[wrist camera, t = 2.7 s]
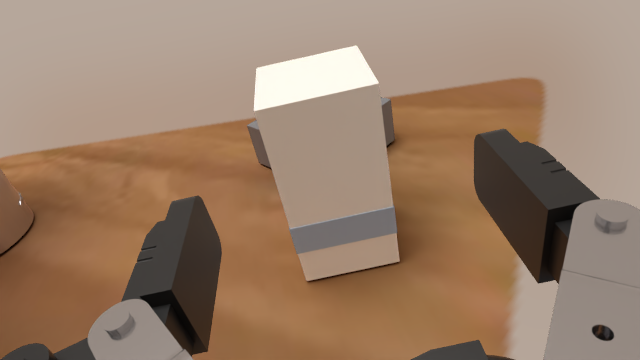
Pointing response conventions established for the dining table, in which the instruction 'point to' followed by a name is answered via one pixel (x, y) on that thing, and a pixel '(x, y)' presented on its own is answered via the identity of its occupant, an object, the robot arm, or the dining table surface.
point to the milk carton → (329, 160)
